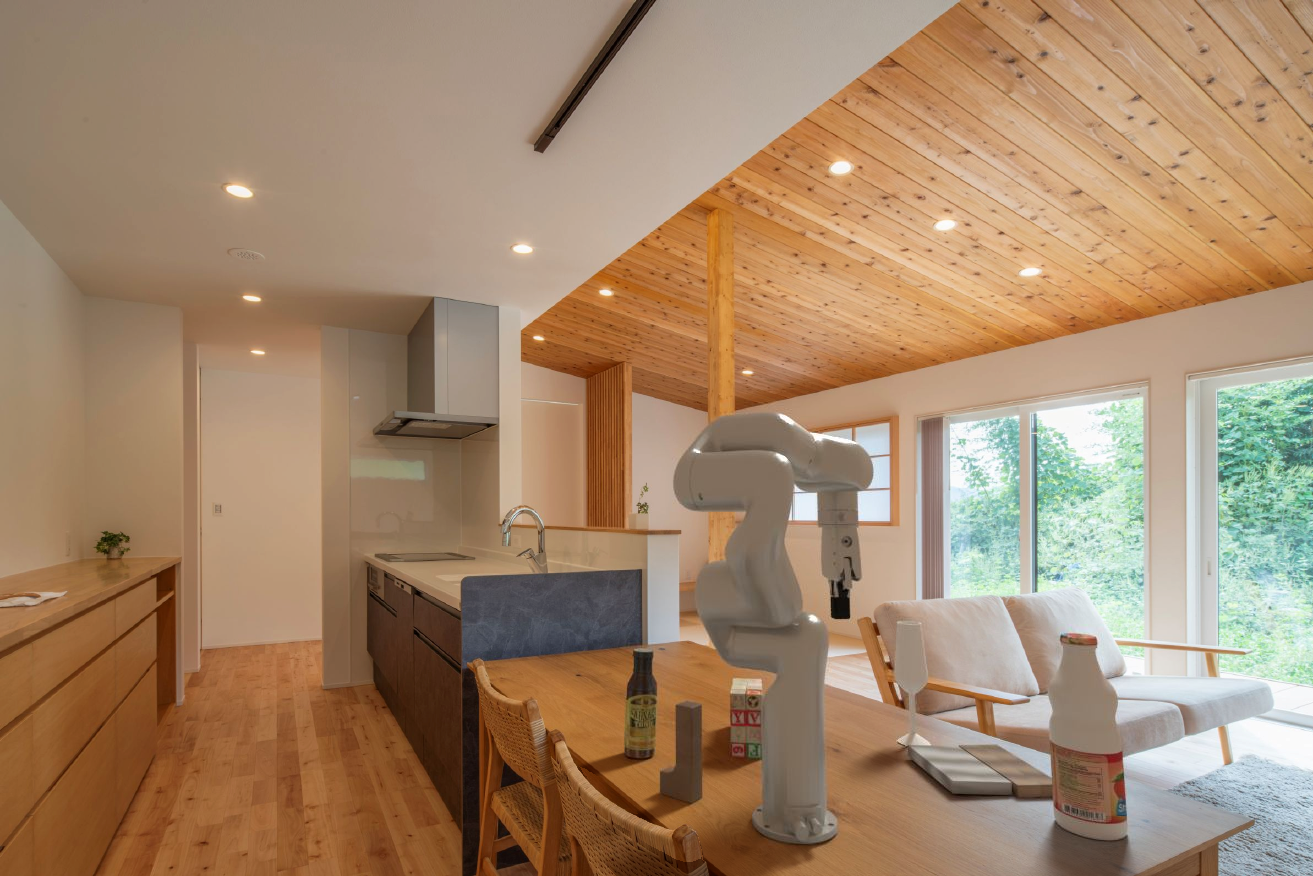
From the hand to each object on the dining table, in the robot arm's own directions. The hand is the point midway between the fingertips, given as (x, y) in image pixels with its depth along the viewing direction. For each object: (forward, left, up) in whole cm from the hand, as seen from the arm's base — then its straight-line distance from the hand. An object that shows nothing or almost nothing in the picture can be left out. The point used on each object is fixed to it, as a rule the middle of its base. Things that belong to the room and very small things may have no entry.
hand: (840, 618), depth 129 cm
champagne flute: (+14, -19, -27) cm, 36 cm away
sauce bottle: (+10, +37, -27) cm, 47 cm away
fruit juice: (-25, -29, -27) cm, 47 cm away
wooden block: (-10, +31, -27) cm, 43 cm away
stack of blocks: (+17, +15, -28) cm, 36 cm away
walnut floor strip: (-4, -28, -27) cm, 39 cm away
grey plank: (-4, -19, -27) cm, 33 cm away
